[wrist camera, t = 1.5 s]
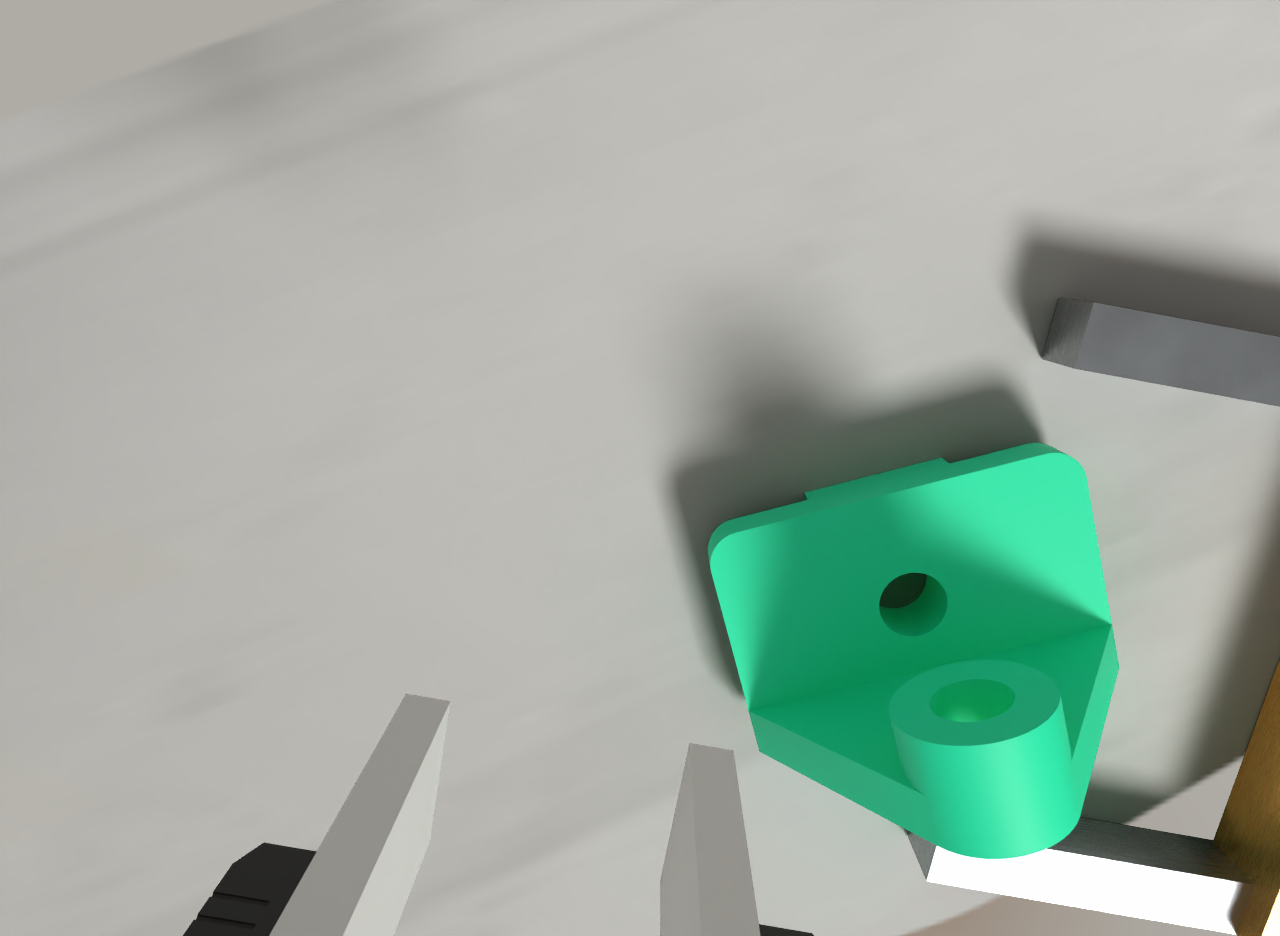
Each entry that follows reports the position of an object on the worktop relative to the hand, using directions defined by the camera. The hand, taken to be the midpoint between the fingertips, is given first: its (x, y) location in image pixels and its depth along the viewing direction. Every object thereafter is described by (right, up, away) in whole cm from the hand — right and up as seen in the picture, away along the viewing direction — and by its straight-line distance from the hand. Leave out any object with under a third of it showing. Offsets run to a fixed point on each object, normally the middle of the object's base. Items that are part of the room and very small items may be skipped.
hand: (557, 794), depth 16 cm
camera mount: (+10, +2, +17) cm, 20 cm away
